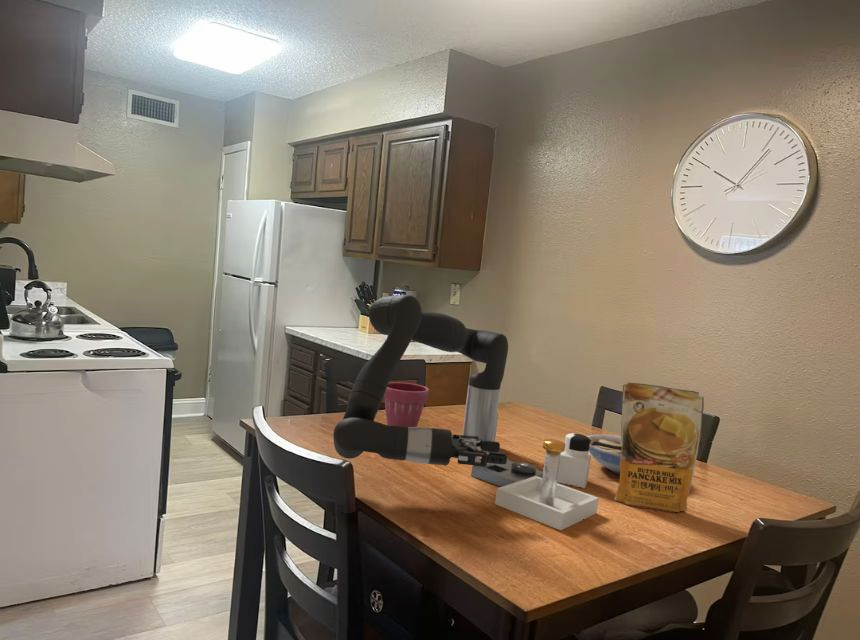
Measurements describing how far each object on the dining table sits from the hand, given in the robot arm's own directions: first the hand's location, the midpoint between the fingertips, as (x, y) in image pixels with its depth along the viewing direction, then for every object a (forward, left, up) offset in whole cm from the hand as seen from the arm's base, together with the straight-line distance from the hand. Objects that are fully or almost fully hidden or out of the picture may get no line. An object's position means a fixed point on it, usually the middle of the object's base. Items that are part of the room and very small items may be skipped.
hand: (502, 452), depth 132 cm
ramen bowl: (-53, +6, -12) cm, 54 cm away
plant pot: (-28, -55, -12) cm, 63 cm away
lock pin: (-8, +8, -11) cm, 15 cm away
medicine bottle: (-31, +2, -12) cm, 33 cm away
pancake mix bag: (-33, +21, -12) cm, 41 cm away
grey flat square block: (-17, -8, -11) cm, 22 cm away
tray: (-8, +8, -11) cm, 16 cm away
